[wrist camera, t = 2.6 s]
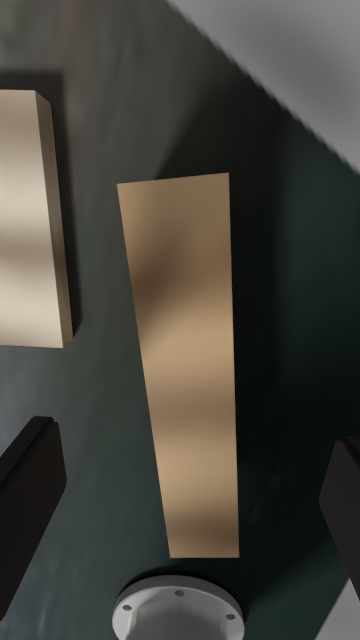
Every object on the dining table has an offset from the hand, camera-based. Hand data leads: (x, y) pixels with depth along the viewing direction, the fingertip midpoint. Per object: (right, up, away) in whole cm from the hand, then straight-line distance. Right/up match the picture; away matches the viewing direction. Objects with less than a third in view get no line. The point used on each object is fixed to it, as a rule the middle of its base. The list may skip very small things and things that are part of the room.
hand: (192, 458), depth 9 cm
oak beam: (0, +2, +9) cm, 10 cm away
